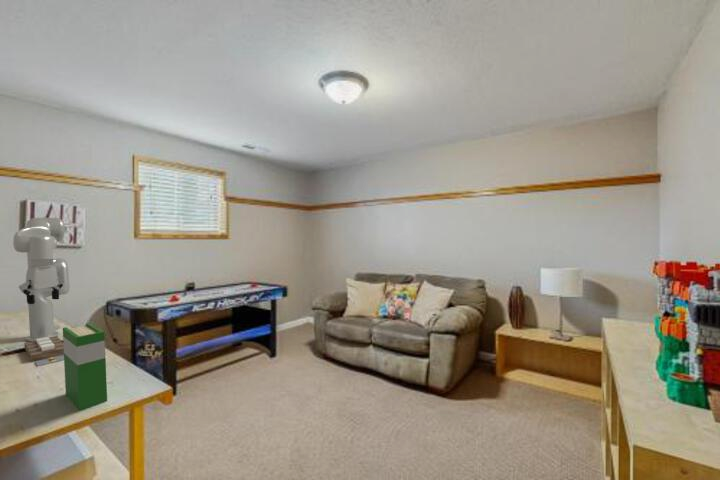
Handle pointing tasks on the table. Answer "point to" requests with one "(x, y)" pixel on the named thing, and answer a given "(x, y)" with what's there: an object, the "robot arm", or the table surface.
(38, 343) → the button middle
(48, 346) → the button
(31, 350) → the button board
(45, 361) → the card
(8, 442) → the table surface
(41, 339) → the button
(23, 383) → the table surface
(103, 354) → the hardback book
